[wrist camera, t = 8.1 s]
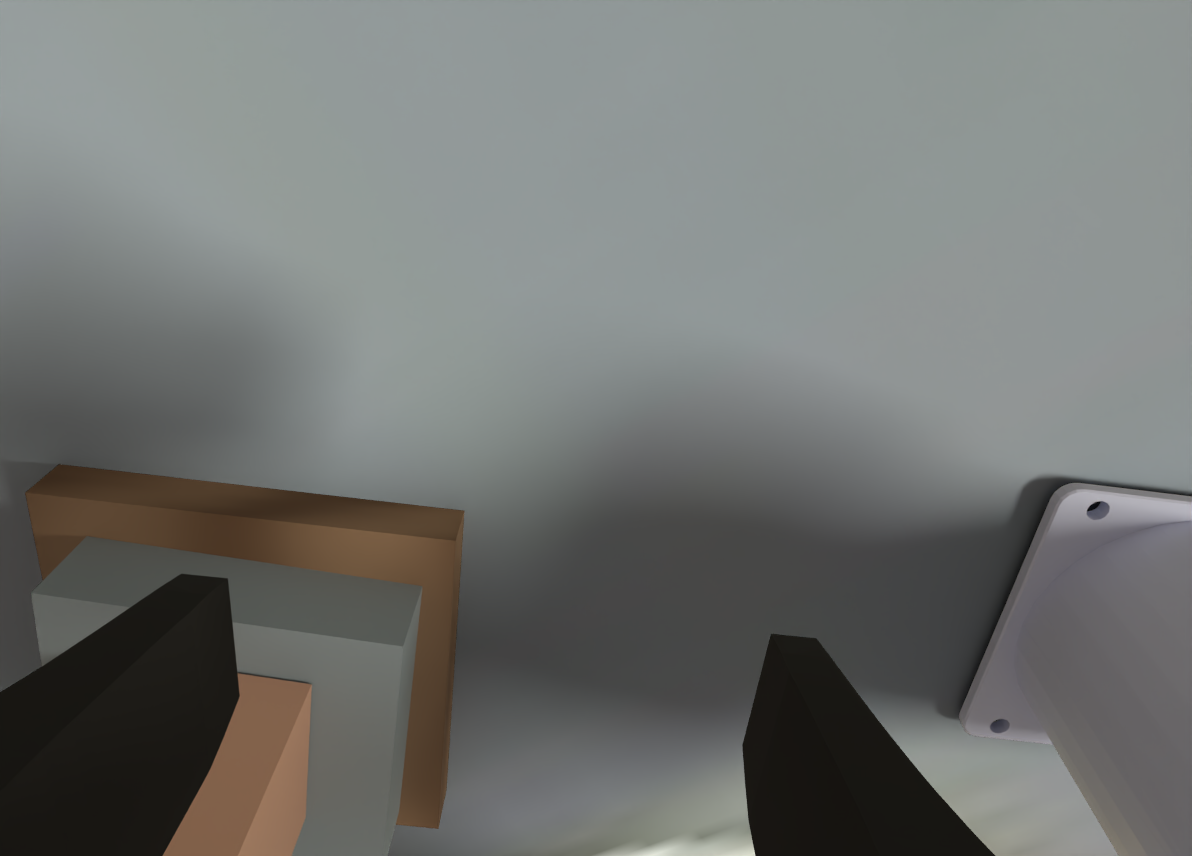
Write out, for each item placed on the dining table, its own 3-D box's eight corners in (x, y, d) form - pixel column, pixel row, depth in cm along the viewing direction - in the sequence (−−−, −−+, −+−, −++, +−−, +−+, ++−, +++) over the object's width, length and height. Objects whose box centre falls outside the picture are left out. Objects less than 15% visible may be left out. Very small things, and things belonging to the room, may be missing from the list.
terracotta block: (311, 684, 19) (222, 892, 15) (305, 817, 21) (224, 1035, 17) (108, 653, 19) (-47, 856, 15) (121, 791, 21) (-10, 1007, 17)
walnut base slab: (469, 493, 22) (455, 541, 20) (451, 767, 27) (438, 828, 25) (77, 448, 22) (24, 493, 20) (125, 734, 26) (86, 793, 24)
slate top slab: (422, 585, 21) (403, 646, 19) (399, 811, 24) (380, 882, 22) (86, 536, 20) (30, 593, 18) (112, 773, 24) (67, 842, 22)
